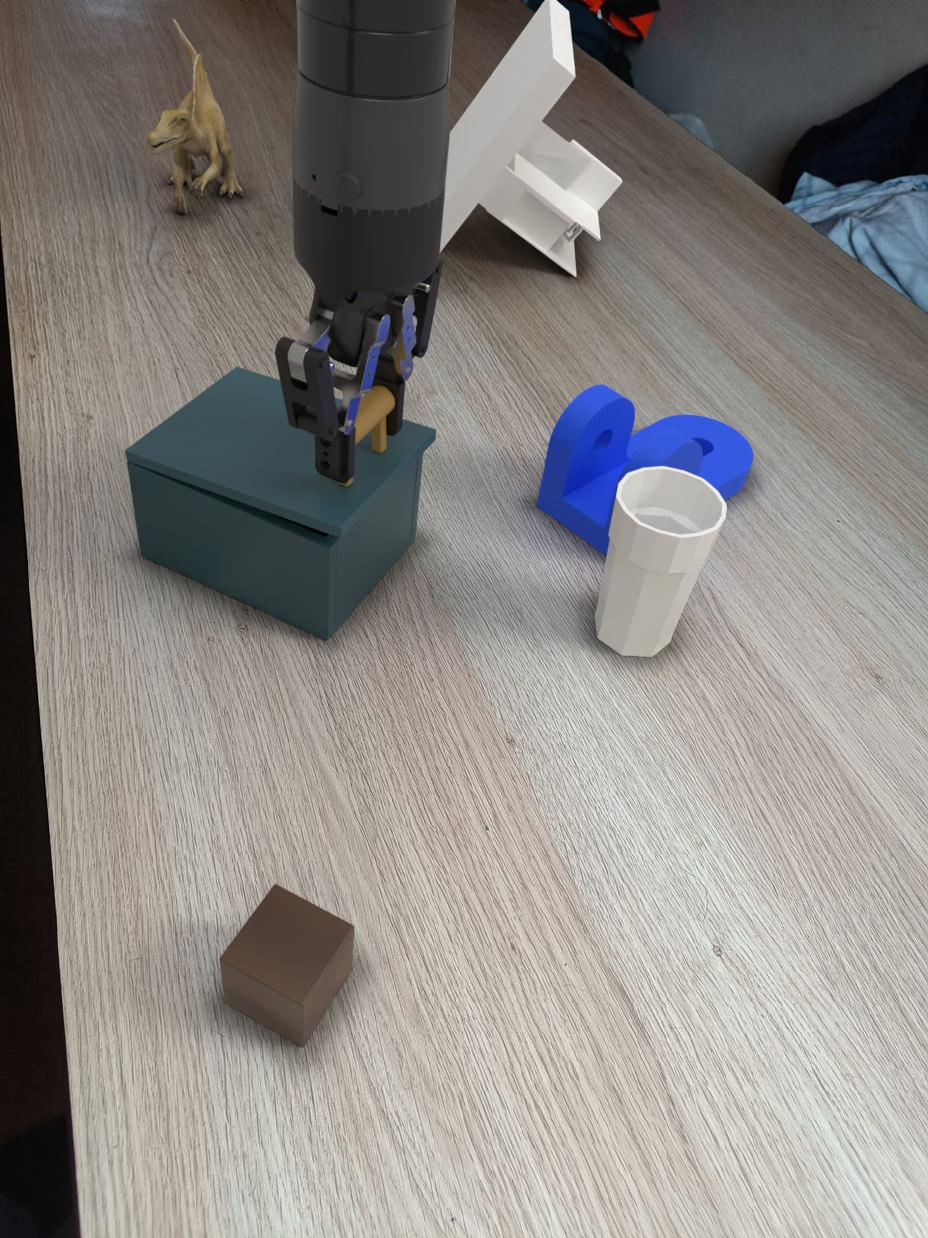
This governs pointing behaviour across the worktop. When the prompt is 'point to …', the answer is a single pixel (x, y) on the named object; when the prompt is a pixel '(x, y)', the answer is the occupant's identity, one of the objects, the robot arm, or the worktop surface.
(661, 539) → the cup
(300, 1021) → the block
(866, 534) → the worktop surface
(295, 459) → the lid
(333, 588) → the box
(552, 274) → the worktop surface
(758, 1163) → the worktop surface
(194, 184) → the dinosaur figurine
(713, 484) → the bracket
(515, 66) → the white tilted panel stand
